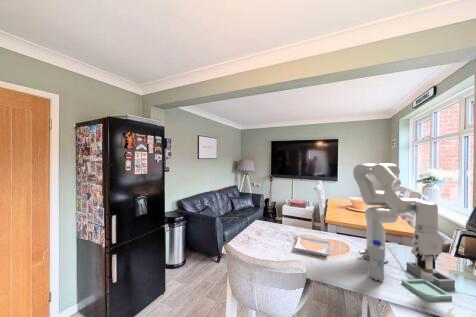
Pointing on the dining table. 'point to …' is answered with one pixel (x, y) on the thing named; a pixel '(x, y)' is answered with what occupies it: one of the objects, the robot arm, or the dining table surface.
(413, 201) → the robot arm
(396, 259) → the dining table surface
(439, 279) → the block
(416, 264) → the cylinder
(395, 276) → the dining table surface
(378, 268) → the bottle
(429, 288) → the tray
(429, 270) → the fuse
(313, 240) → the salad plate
